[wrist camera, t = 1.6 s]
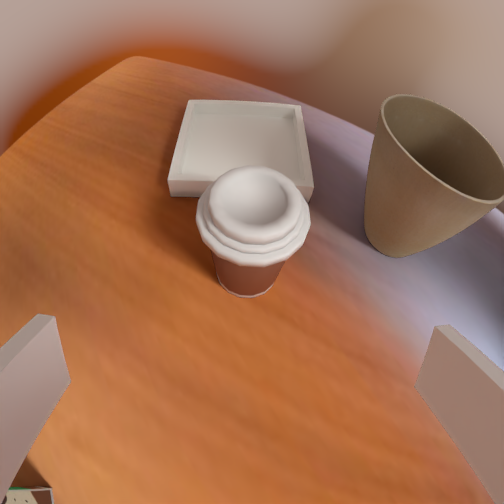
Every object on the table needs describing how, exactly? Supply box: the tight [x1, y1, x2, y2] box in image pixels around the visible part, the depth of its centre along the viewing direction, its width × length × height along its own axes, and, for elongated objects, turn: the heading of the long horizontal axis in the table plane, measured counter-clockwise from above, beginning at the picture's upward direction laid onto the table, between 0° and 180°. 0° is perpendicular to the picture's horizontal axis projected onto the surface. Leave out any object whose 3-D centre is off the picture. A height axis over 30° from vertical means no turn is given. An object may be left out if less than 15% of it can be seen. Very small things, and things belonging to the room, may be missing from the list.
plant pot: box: [364, 94, 504, 258], centre depth 31 cm, size 15×15×16 cm
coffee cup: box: [196, 165, 311, 298], centre depth 29 cm, size 9×9×12 cm
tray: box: [168, 100, 314, 203], centre depth 41 cm, size 17×17×3 cm
